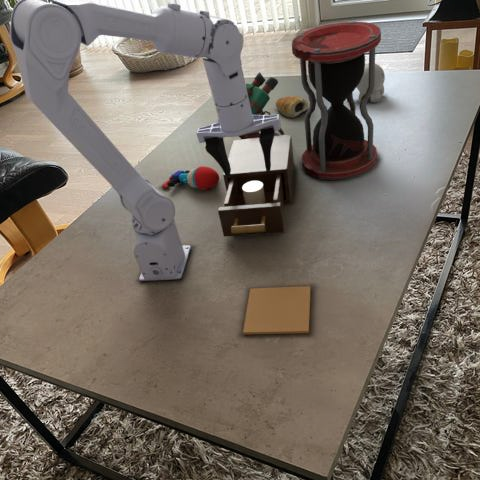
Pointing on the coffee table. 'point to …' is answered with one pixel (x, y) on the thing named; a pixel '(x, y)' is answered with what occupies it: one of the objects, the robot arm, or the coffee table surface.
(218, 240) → the coffee table surface
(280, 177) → the drawer
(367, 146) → the hourglass
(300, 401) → the coffee table surface
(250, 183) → the cream cylinder
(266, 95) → the binoculars
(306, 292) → the cork mat
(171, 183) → the toy figure
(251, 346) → the coffee table surface
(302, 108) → the pastry
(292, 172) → the cabinet
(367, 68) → the round bodied animal figurine
